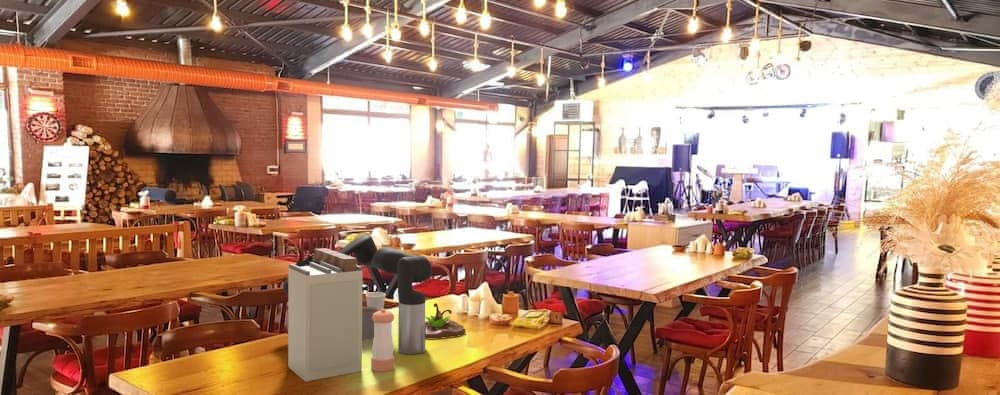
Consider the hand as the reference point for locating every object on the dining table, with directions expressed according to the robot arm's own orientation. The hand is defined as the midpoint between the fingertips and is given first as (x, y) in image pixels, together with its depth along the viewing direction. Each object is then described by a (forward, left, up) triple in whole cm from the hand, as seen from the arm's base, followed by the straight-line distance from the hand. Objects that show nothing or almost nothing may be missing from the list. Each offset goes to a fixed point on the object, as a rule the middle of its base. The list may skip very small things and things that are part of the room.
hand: (324, 256), depth 217 cm
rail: (-5, +8, -2) cm, 10 cm away
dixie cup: (-8, -52, -34) cm, 63 cm away
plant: (-36, -32, -34) cm, 59 cm away
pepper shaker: (-22, +13, -34) cm, 42 cm away
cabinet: (-4, +15, -34) cm, 37 cm away
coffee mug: (-8, -26, -34) cm, 44 cm away
